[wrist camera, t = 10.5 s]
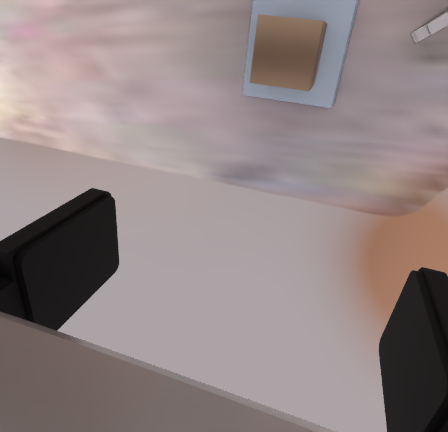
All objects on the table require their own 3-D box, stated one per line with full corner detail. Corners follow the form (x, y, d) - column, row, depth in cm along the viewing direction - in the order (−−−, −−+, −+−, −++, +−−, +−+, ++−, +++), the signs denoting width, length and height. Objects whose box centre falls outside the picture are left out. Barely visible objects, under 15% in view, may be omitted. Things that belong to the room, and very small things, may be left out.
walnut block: (272, 18, 31) (257, 14, 26) (327, 23, 30) (323, 20, 25) (264, 76, 34) (249, 82, 29) (314, 83, 33) (309, 91, 28)
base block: (259, -8, 33) (252, -12, 31) (358, 0, 31) (359, -3, 29) (247, 92, 38) (240, 96, 35) (333, 105, 36) (332, 110, 33)
